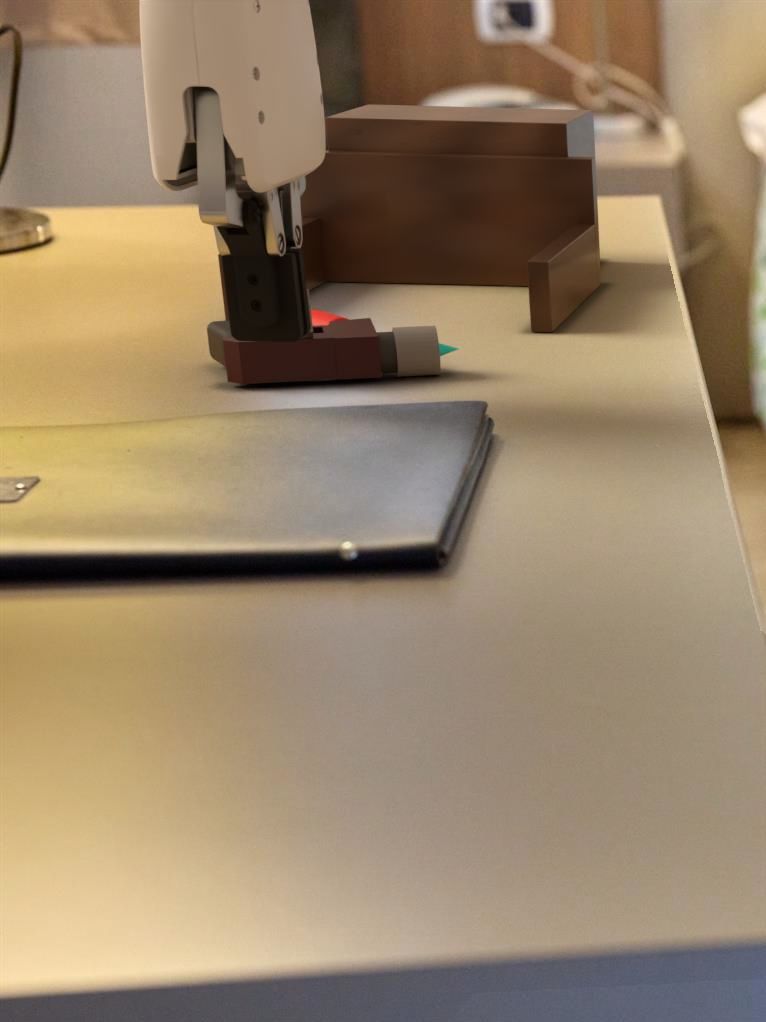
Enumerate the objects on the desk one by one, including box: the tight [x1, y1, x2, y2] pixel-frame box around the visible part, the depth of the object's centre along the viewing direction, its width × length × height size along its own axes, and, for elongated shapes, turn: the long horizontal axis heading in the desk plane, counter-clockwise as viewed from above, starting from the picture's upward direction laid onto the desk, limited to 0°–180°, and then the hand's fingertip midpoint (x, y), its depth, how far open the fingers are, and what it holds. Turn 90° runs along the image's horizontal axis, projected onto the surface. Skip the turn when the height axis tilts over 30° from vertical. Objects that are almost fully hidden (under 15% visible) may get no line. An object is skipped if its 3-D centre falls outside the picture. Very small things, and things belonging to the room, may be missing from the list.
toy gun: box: [206, 289, 460, 385], centre depth 100 cm, size 10×12×5 cm
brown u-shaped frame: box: [217, 104, 602, 333], centre depth 120 cm, size 18×25×10 cm
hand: (272, 336), depth 91 cm, fingers closed
